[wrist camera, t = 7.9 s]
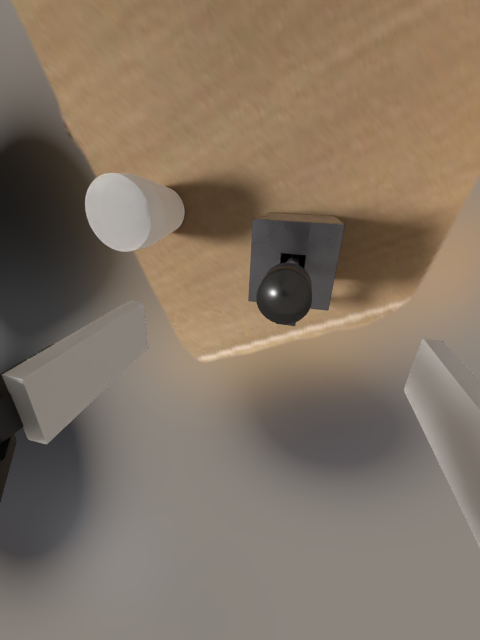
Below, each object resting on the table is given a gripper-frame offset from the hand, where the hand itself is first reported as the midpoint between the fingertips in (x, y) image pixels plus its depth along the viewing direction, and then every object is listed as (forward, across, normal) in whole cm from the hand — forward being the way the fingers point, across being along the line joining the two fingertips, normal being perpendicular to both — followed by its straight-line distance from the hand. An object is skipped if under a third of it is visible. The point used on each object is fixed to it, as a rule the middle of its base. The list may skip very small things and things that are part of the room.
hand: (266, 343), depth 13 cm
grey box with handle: (+31, 0, -2) cm, 31 cm away
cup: (+31, -21, +4) cm, 37 cm away
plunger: (+28, 0, 0) cm, 28 cm away
